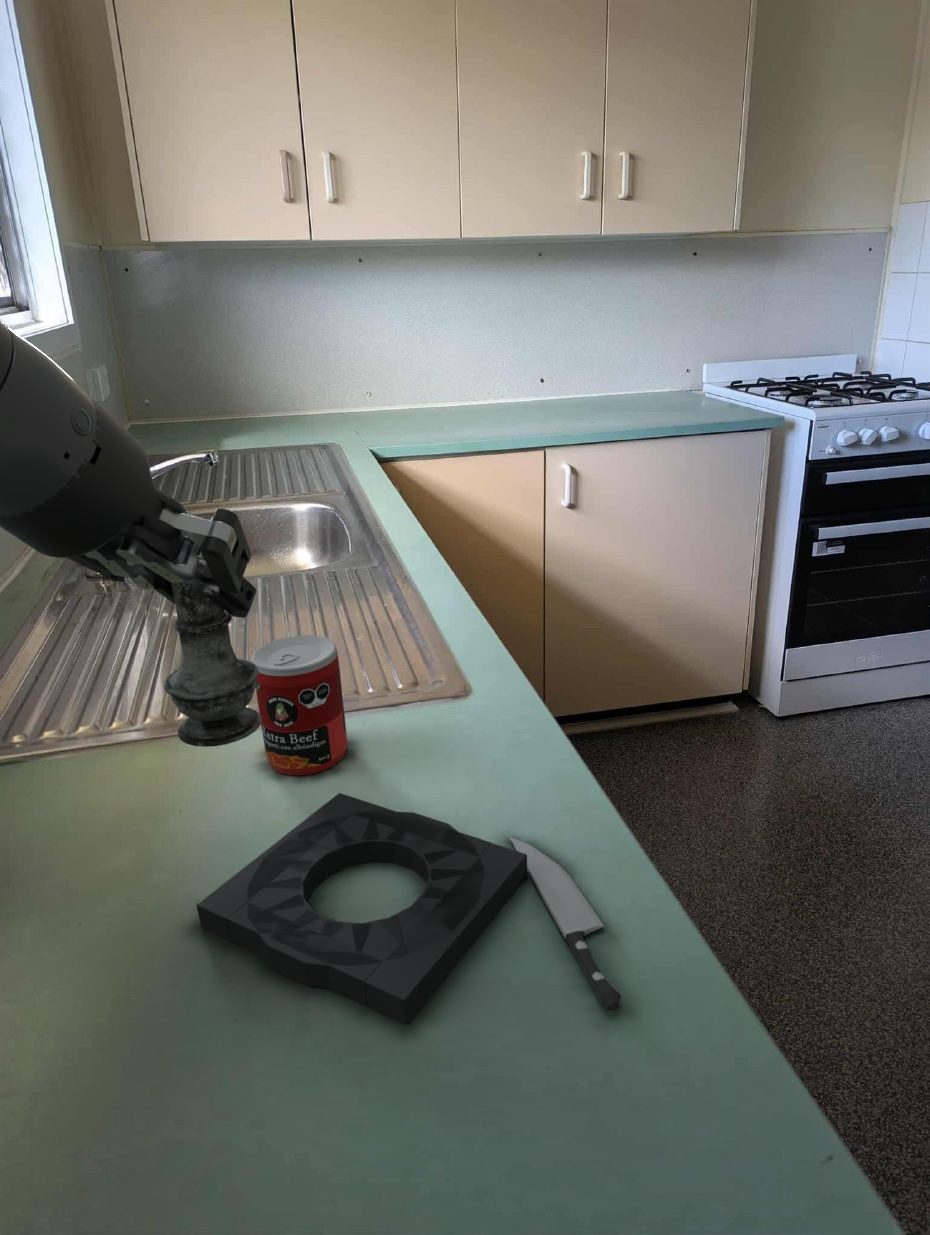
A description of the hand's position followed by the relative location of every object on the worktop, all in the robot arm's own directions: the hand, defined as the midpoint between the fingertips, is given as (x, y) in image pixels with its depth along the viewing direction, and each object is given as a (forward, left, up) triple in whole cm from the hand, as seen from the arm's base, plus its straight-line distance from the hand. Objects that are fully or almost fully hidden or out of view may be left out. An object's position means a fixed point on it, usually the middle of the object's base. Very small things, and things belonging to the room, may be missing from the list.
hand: (221, 600), depth 56 cm
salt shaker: (0, -2, -8) cm, 8 cm away
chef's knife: (+20, +9, -24) cm, 33 cm away
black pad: (+6, +4, -24) cm, 25 cm away
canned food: (-12, +18, -24) cm, 32 cm away
